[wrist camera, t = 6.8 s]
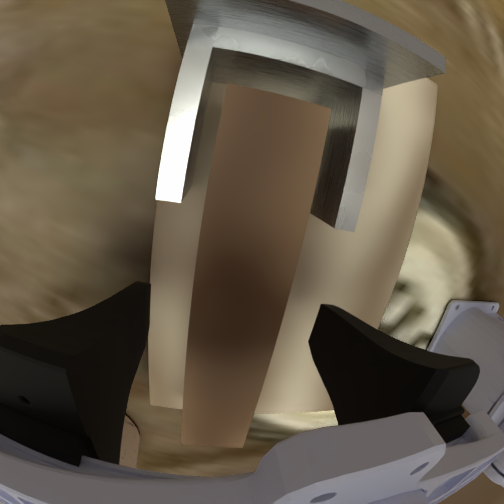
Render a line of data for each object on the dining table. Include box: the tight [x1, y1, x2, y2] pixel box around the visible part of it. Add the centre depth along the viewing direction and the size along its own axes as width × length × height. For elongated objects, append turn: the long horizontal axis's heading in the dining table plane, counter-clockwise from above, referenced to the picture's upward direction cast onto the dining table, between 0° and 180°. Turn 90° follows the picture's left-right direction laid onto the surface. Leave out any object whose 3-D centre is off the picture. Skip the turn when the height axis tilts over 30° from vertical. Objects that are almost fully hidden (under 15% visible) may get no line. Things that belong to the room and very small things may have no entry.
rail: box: [181, 84, 331, 447], centre depth 12 cm, size 4×17×4 cm, turn 169°
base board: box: [148, 78, 438, 414], centre depth 15 cm, size 14×24×1 cm, turn 169°
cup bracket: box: [155, 0, 446, 232], centre depth 9 cm, size 8×6×7 cm
